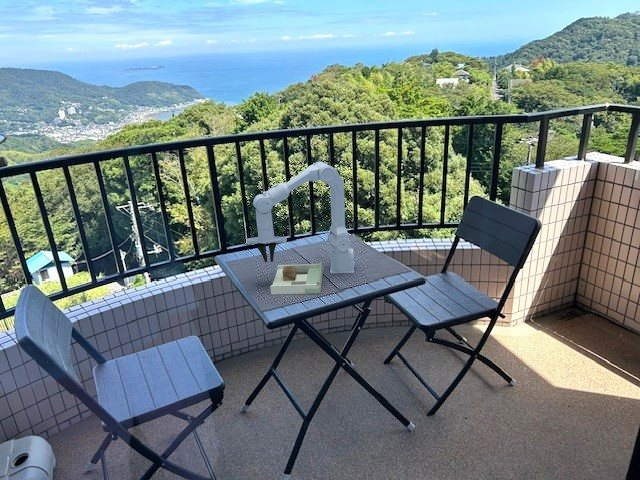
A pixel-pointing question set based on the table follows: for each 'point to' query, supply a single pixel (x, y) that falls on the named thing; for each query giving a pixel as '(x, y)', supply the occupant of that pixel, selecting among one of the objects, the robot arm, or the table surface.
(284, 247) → the table surface
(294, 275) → the walnut block
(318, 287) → the board
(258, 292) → the table surface
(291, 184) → the robot arm
